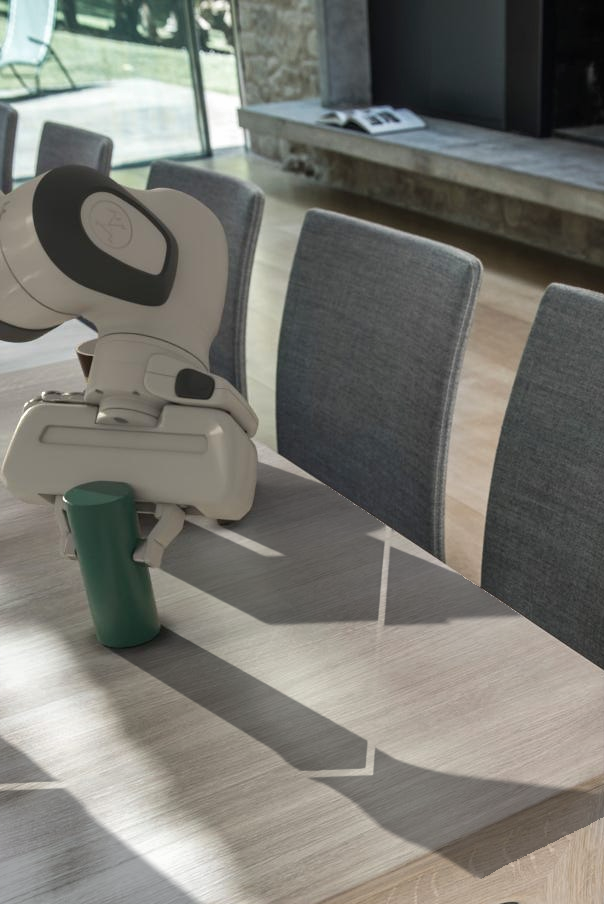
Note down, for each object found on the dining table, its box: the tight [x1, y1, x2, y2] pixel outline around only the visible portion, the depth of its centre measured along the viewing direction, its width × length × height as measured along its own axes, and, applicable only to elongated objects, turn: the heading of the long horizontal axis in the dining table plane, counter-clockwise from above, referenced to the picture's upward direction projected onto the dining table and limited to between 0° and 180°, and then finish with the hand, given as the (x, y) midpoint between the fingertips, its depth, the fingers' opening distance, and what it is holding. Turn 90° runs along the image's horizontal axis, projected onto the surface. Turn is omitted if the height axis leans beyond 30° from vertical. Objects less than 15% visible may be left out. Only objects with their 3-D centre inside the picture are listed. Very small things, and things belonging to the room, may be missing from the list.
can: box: [63, 481, 162, 649], centre depth 89 cm, size 5×5×12 cm
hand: (108, 561), depth 88 cm, fingers closed on can, 5 cm apart
